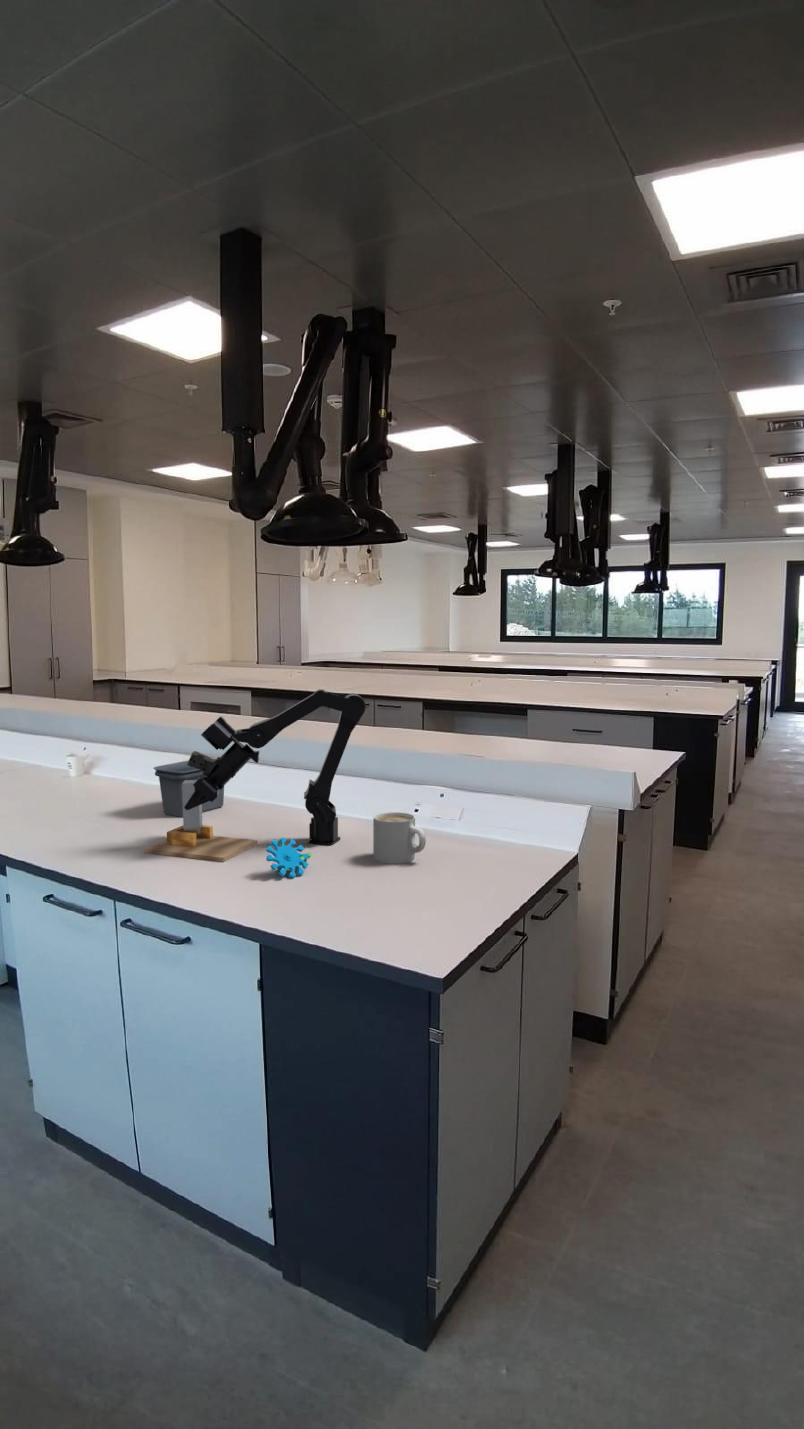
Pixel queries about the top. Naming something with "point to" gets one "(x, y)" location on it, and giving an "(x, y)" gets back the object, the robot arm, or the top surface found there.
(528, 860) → the top surface
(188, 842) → the plate
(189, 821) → the link bar
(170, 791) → the storage bin
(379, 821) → the coffee mug
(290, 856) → the gear
